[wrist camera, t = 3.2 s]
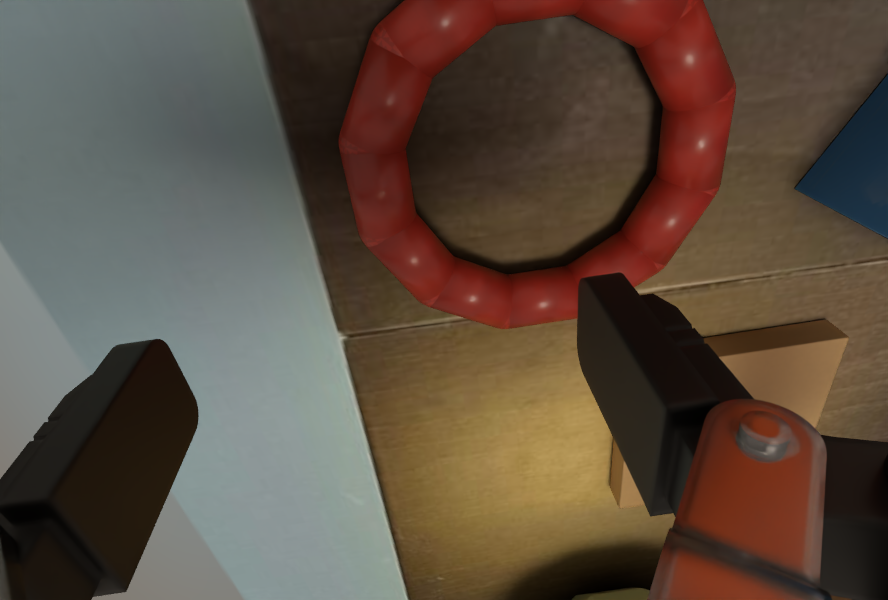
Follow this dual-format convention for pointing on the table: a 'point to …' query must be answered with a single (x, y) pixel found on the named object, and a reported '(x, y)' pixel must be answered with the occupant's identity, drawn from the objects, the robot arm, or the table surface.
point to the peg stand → (767, 379)
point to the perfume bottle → (856, 167)
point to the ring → (628, 251)
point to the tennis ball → (616, 595)
